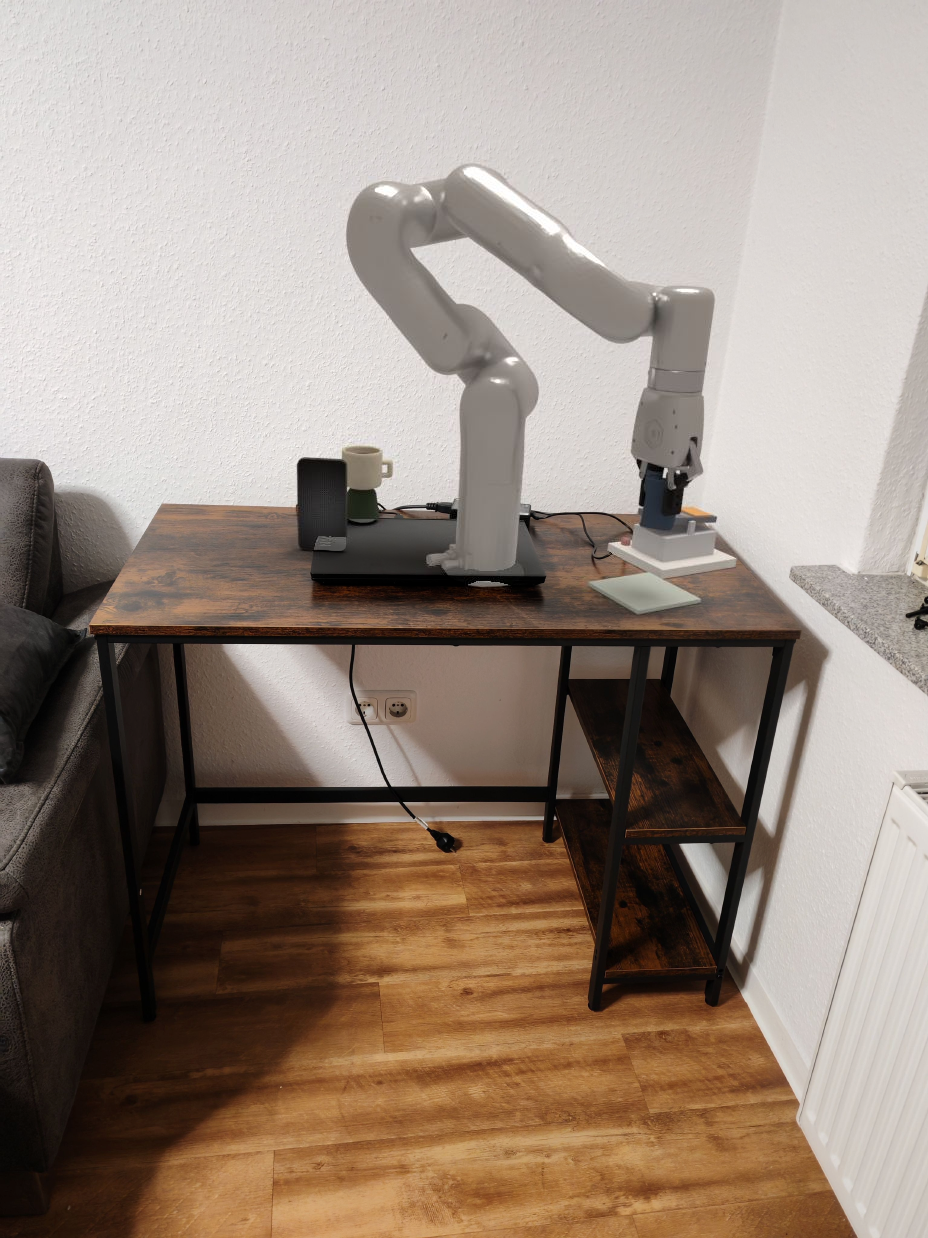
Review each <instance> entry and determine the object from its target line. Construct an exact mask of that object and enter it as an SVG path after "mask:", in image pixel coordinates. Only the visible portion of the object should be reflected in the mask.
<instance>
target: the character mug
mask: <svg viewBox="0 0 928 1238" xmlns="http://www.w3.org/2000/svg"><path fill="white" fill-rule="evenodd" d="M341 459H343V460H344V461H345V462H346V463H347V488H348V489H347V518H351V519H377V520H379V519H378V518H380V515H379V503H378V496H377V495H378V494H377V492H376V489H377V488H379V487H381V485H382V481H383V479H390V478H392V477H393V473H394V469H393V468H394V467H393V465H394V462H393V460H392V459H387V458H385V459H383V449H382V448H380V447H377V446H371V445H362V444H361V445H360V444H357V445H349V446H348V445H347V446H344V447H342V450H341ZM383 466H386V468H387V470H386V472H383Z"/></svg>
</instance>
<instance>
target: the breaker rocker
mask: <svg viewBox="0 0 928 1238" xmlns="http://www.w3.org/2000/svg"><path fill="white" fill-rule="evenodd" d="M642 512H643V507H638V510H637V515H639V516H641V517H642ZM717 519H718V516H716V515H714V514H711V513H710V512H709V513H708V512H707V511H704V510H702V509H699V508H696V507H694V506H682V508H681V513H680V514H678V515H676V518H675V523H674V524H688V523H689V521H695V522H696V523H697V524H711V523H717Z"/></svg>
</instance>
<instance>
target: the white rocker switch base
mask: <svg viewBox="0 0 928 1238" xmlns="http://www.w3.org/2000/svg"><path fill="white" fill-rule="evenodd" d="M632 531H633V532H632V536H631V537H632V538H630V537H627V536H622V537H621V541H615V542H608V544H607V551H609V552H611V553H612V554H611V553H610V554H611V555H614V556H616V557H617V558H619V559H621V560H623V561H625V562H626V563H627V562H628V563H629V564H631V565H633V566H635V567H636V568H639V569H641V570H643V571H645V573H647V572H649V573H651V574H653V575H655V576H657V577H659V578H661V579H663V580H666V579H670V578H676V577H684V576H689V575H695V574H701V573H706V572H714V571H719V570H726V569H732V568H735V567H736V565H737V560H738V558H737V557H734V556H732V555H730V554H728V553H725V552H723V551H720V550H718V549H716V548H715V544H716V539H717V534H718V532H717V531H716V530H714V529H712V528H708V527H706V526H704V525H702V524H701V523H696V522H695V521H689V523H688V524H674V526H673V527H672V529H671V530H670V531H664V530H657V529H651V528H645V527H641V526H640V525H639V523H635V524H633V530H632ZM609 552H608V553H609Z"/></svg>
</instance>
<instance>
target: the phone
mask: <svg viewBox="0 0 928 1238" xmlns="http://www.w3.org/2000/svg"><path fill="white" fill-rule="evenodd" d="M347 492H348V487H347V463H346V462H345V461H344V460H343V459H342V458H331V457H330V458H327V457H325V458H324V457H307V456H306V457H305V456H304V457H300V458H299V459H298V461H297V463H296V497H297V498H296V501H297V502H296V503H297V510H296V511H297V519H296V520H297V523H296V524H297V544H298V547H299V548H300V549H301V550H303V551H313V550H314V547H315V543H316V540H317V538H318V536H326V537H329V536H331V537H346V538H347V539H348V520H347Z"/></svg>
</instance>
